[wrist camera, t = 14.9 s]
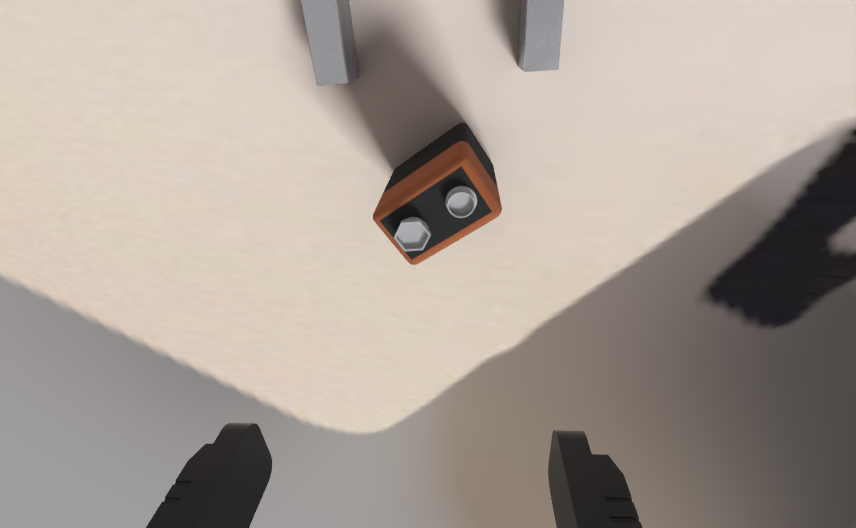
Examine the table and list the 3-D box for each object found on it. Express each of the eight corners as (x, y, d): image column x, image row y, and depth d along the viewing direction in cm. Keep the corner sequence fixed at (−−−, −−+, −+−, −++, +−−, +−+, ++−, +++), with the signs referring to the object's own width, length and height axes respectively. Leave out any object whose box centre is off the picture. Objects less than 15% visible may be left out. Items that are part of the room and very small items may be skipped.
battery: (391, 170, 32) (364, 223, 24) (464, 118, 30) (464, 157, 21) (423, 212, 34) (410, 277, 25) (495, 167, 32) (507, 221, 23)
